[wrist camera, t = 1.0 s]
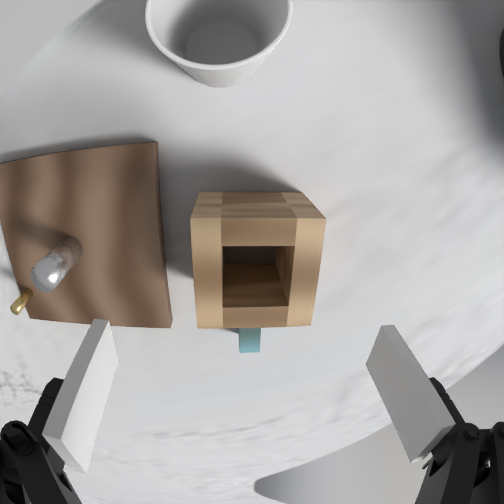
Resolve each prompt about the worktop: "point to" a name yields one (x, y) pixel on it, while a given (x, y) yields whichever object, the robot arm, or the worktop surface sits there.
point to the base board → (90, 233)
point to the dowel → (21, 301)
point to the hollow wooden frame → (255, 275)
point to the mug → (217, 35)
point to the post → (56, 264)
